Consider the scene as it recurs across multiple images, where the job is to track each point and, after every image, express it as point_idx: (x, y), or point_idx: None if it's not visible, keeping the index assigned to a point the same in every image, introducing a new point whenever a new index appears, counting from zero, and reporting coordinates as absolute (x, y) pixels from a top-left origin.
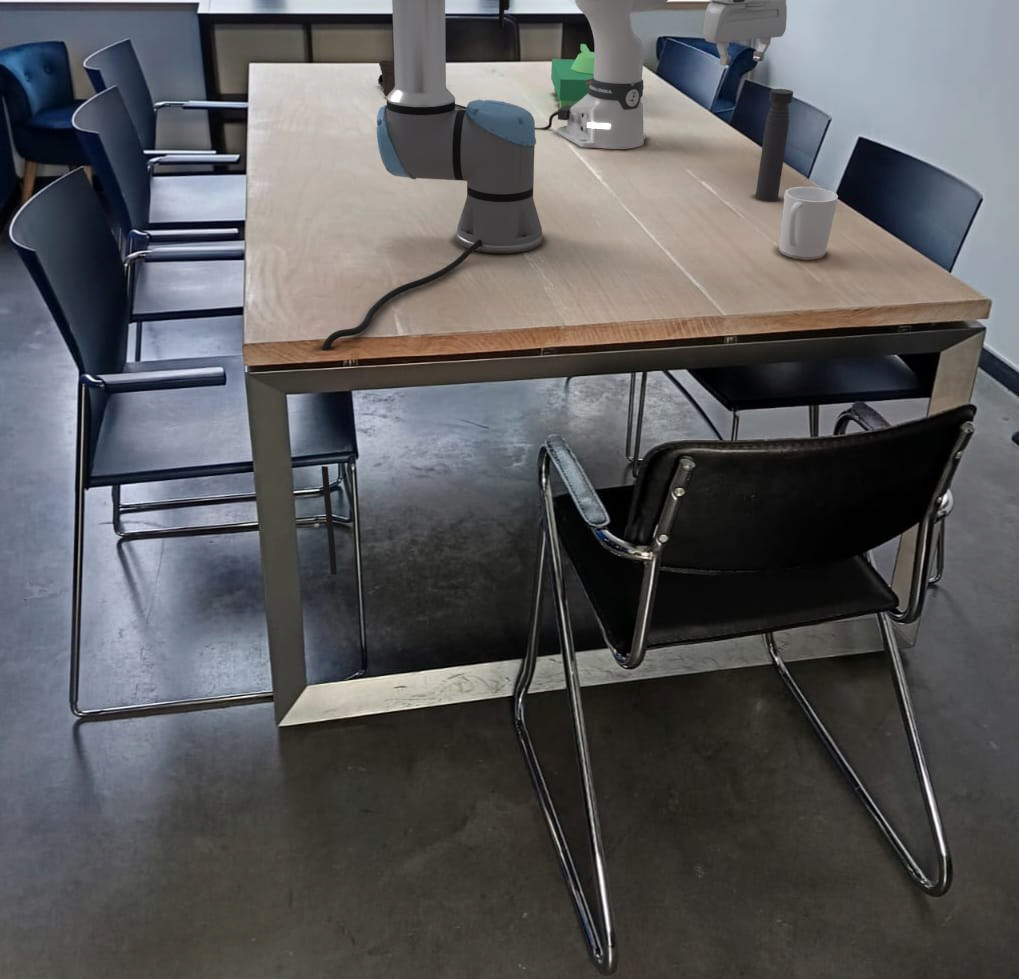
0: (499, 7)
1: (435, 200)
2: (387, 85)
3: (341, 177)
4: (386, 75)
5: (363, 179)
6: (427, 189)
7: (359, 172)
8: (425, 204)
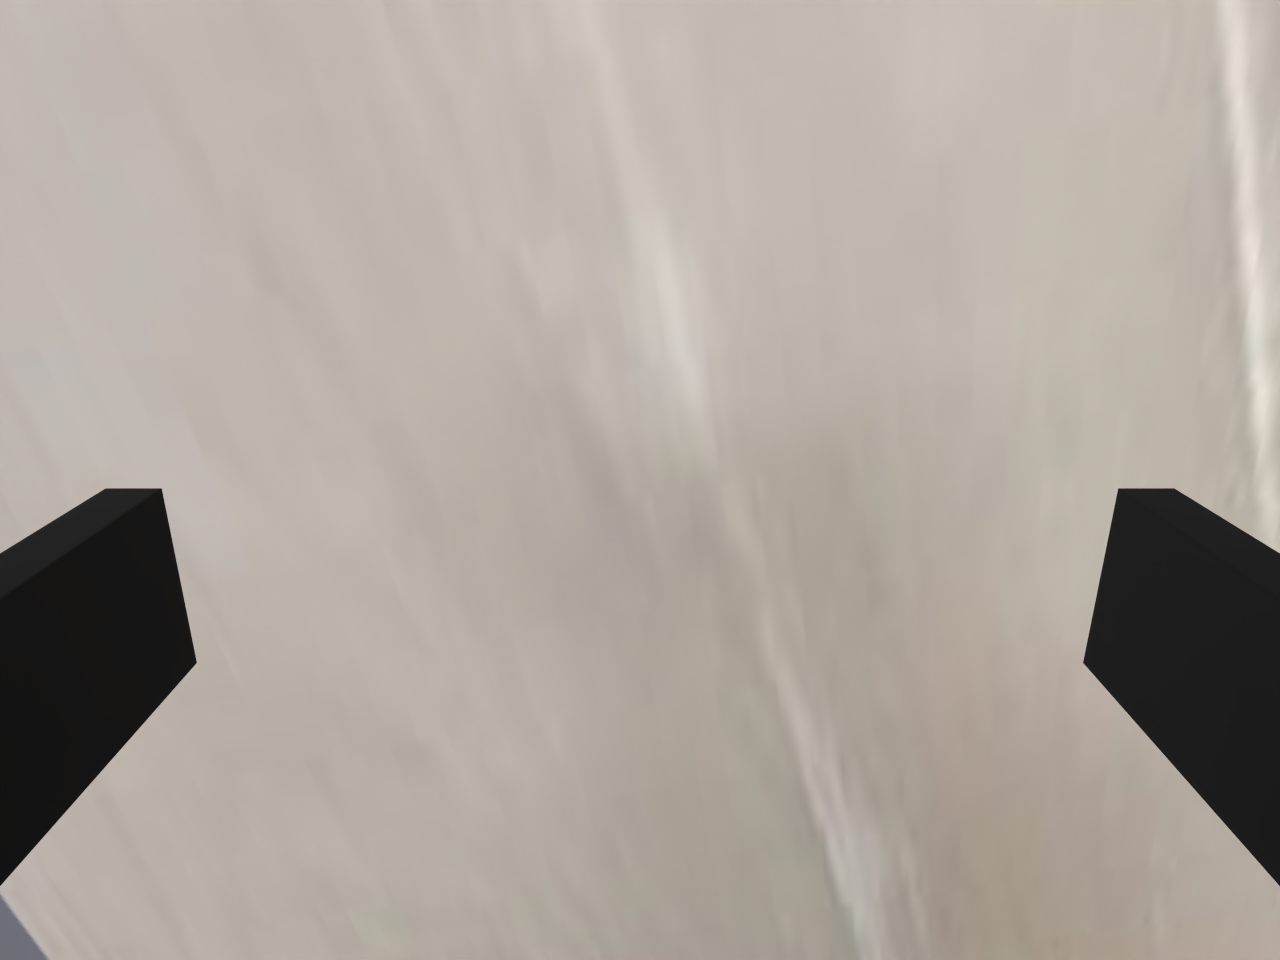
0: (1276, 874)
1: (598, 799)
2: None
3: None
4: None
5: (252, 613)
6: (540, 689)
7: (193, 522)
8: (573, 842)
